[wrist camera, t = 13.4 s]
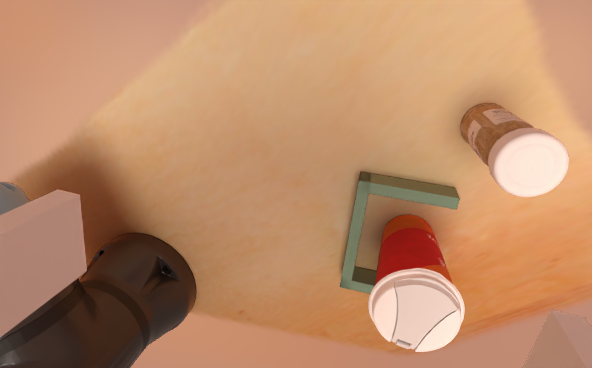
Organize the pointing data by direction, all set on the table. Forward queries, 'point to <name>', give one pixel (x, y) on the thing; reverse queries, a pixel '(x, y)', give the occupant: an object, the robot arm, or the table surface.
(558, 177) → the sprinkles bottle
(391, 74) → the table surface
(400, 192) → the green pocket
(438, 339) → the paper cup
